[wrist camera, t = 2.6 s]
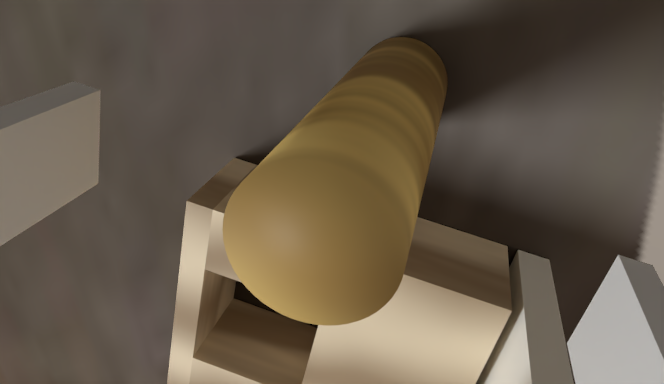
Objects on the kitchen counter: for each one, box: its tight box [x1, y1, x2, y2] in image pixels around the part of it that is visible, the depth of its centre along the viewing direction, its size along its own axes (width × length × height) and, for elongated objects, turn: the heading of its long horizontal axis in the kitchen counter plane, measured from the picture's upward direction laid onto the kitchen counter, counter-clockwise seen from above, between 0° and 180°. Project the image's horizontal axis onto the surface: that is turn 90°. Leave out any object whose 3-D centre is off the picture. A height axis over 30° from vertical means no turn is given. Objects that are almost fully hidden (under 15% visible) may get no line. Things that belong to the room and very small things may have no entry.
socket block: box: [167, 158, 512, 384], centre depth 27 cm, size 12×14×5 cm
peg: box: [222, 37, 448, 326], centre depth 17 cm, size 4×4×14 cm
